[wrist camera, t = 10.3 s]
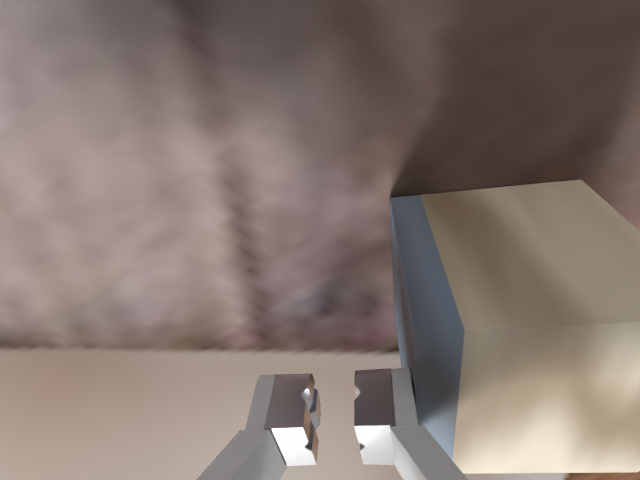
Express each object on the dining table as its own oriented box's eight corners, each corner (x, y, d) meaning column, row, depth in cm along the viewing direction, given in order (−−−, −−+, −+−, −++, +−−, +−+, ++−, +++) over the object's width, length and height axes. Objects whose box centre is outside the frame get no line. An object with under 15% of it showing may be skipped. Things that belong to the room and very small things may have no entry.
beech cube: (415, 333, 8) (737, 316, 7) (389, 197, 13) (580, 179, 12) (416, 473, 11) (638, 472, 11) (395, 323, 16) (546, 314, 16)
